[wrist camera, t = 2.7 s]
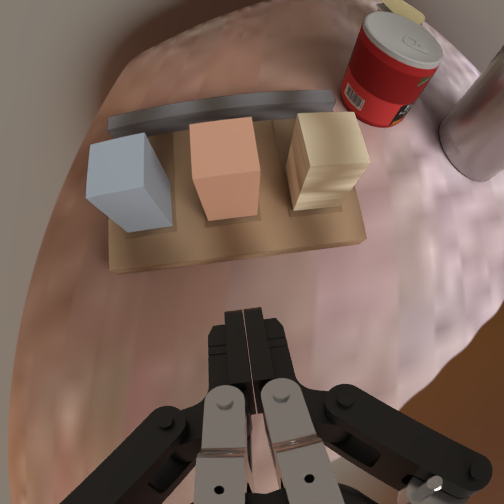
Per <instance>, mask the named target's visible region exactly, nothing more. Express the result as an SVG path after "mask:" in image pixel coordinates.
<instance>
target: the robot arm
mask: <svg viewBox="0 0 504 504" xmlns="http://www.w3.org/2000/svg"><path fill="white" fill-rule="evenodd" d="M439 136H440V141H441V144H442V147H443V149H444V151H445V153H446V155H447V157H448V158H449V160H450V161H451V162H452V164H453V165H454V166H455V167H456V168H457V169H458V170H459V171H460V172H461V173H462V174H464V175H465V176H466V177H468V178H470V179H472V180H475V181H479V182H482V181H487V180H489V179H490V178H492V177H493V176H495V175H496V174H497V173H499V172H500V171H502V170H503V169H504V45H503V46H502V48H501V49H500V51H499V52H498V53H497V55H496V56H495V57H494V59H493V60H492V61H491V62H490V64H489V65H488V66H487V67H486V69H485V70H484V71H483V72H482V74H481V75H480V76H479V77H478V79H477V80H476V81H475V82H474V84H473V85H472V86H471V87H470V88H469V90H468V91H467V92H466V93H465V95H464V96H463V97H462V98H461V99H460V101H459V102H458V103H457V104H456V105H455V107H454V108H453V109H452V110H451V111H450V113H449V114H448V115H447V116H446V117H445V119H444V120H443V121H442V122H441V125H440V128H439ZM224 314H225V325H217V326H213V327H212V329H211V331H210V333H209V335H208V347H209V348H208V355H209V357H208V361H209V390H208V393H207V395H206V397H205V398H204V399H203V400H202V401H201V402H200V403H198V404H197V405H194V406H192V407H189V408H187V409H184V410H181V411H180V410H179V409H178V408H176V407H173V406H163V407H159V408H157V409H156V410H154V411H153V412H152V413H151V414H150V415H149V416H148V417H147V418H146V419H145V420H144V421H143V422H142V423H141V424H140V425H139V426H138V427H137V428H136V429H135V430H134V431H133V432H132V433H131V434H130V435H129V436H128V437H127V438H126V439H125V440H124V441H123V442H122V443H121V444H120V445H119V446H118V447H117V448H116V449H115V450H114V451H113V452H112V453H111V454H110V455H109V456H108V457H107V458H106V459H105V460H104V461H103V462H102V463H101V464H100V465H99V466H98V467H97V468H96V469H95V470H94V471H93V472H92V473H91V474H90V475H89V476H88V477H87V478H86V479H85V480H84V481H83V482H82V483H81V484H80V485H79V486H78V487H77V488H76V489H75V490H74V491H72V492H71V493H70V494H69V495H68V496H67V497H66V498H65V499H64V500H63V501H62V502H61V503H60V504H162V503H163V502H164V500H165V499H166V498H167V497H168V496H169V495H170V494H171V493H172V492H173V490H174V489H175V488H176V487H177V486H178V485H179V484H180V483H181V481H182V480H183V479H184V478H185V477H186V476H187V475H188V473H189V472H190V471H191V470H192V469H193V468H194V466H195V465H196V470H195V487H194V502H193V503H191V504H378V503H376V502H375V501H373V500H372V499H370V498H369V497H367V496H366V495H364V494H363V493H361V492H360V491H358V490H356V489H354V488H352V487H350V486H347V485H344V484H339V483H337V480H336V477H335V475H334V472H333V469H332V466H331V463H330V460H329V457H328V454H327V452H326V449H325V446H327V447H328V448H330V449H331V450H333V451H334V452H336V453H337V454H339V455H340V456H342V457H344V458H345V459H346V460H348V461H350V462H351V463H353V464H354V465H356V466H358V467H359V468H361V469H362V470H364V471H366V472H367V473H369V474H371V475H372V476H374V477H376V478H377V479H379V480H381V481H382V482H384V483H386V484H387V485H389V486H391V487H393V488H394V489H396V490H398V491H399V493H398V497H397V501H398V504H465V503H466V501H467V500H468V498H469V497H470V496H471V495H473V494H474V493H476V492H478V491H479V490H481V489H482V488H484V487H485V486H486V485H487V484H488V483H489V481H490V479H491V477H492V465H491V463H490V461H489V460H488V459H487V458H486V457H485V456H483V455H481V454H479V453H477V452H475V451H473V450H471V449H469V448H467V447H465V446H463V445H461V444H459V443H457V442H455V441H453V440H451V439H449V438H447V437H445V436H444V435H442V434H440V433H438V432H436V431H434V430H432V429H430V428H428V427H427V426H425V425H423V424H421V423H419V422H417V421H415V420H413V419H412V418H410V417H408V416H406V415H404V414H403V413H401V412H399V411H397V410H396V409H394V408H392V407H390V406H389V405H387V404H385V403H383V402H382V401H380V400H378V399H376V398H375V397H373V396H371V395H369V394H368V393H366V392H364V391H363V390H361V389H359V388H357V387H356V386H353V385H350V384H340V385H337V386H335V387H333V388H331V389H330V390H329V391H318V390H311V389H308V388H306V387H304V386H303V385H301V384H300V383H299V382H298V381H297V379H296V377H295V373H294V369H293V365H292V361H291V357H290V353H289V349H288V345H287V340H286V337H285V332H284V328H283V326H282V324H281V323H280V322H279V321H278V320H277V319H276V318H271V319H263V314H262V309H261V307H258V308H250V309H244V317H245V325H246V333H247V340H246V333H245V326H244V320H243V313H242V310H235V311H227V312H225V313H224ZM247 341H248V348H249V356H250V363H249V356H248V348H247ZM250 364H251V371H250ZM251 372H252V379H253V386H254V392H255V399H256V405H257V411H258V414H260V413H263V417H264V424H265V431H266V435H267V439H268V443H269V447H270V451H271V455H272V459H273V463H274V467H275V471H276V476H277V481H278V485H279V490H276V491H274V492H271V493H268V494H259V493H255V485H254V477H253V454H252V420H251V415H253V414H256V409H255V402H254V394H253V387H252V379H251ZM324 445H325V446H324Z"/></svg>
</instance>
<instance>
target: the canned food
mask: <svg viewBox="0 0 504 504" xmlns="http://www.w3.org/2000/svg"><path fill="white" fill-rule="evenodd" d="M442 58H443V52H442V49H441V47H440V45H439V43H438V42H437V41H436V39H435V38H434V37H433V36H432V35H431V34H430V33H429V32H428V31H427V30H425V29H424V28H423V27H422V26H420V25H418V24H417V23H415V22H414V21H412V20H410V19H408V18H406V17H403V16H401V15H398V14H395V13H390V12H384V11H376V12H372V13H370V14H368V15H367V16H366V18H365V20H364V21H363V24H362V27H361V29H360V32H359V35H358V38H357V41H356V44H355V47H354V50H353V53H352V55H351V58H350V61H349V64H348V67H347V70H346V73H345V76H344V79H343V81H342V85H341V96H342V100H343V103H344V104H345V106H346V108H347V109H348V110H349V111H350V112H354V113H355V116H356V118H358V119H359V120H361V121H363V122H364V123H366V124H369V125H371V126H375V127H382V128H386V127H391V126H394V125H396V124H398V123H399V122H401V121H402V120H403V118H404V117H405V116H406V114H407V113H408V111H409V110H410V108H411V107H412V106H413V104H414V103H415V101H416V100H417V98H418V97H419V95H420V94H421V92H422V91H423V89H424V88H425V87H426V85H427V84H428V82H429V81H430V79H431V78H432V76H433V75H434V73H435V72H436V70H437V68H438V67H439V65H440V63H441V61H442Z"/></svg>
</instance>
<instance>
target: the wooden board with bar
mask: <svg viewBox="0 0 504 504" xmlns="http://www.w3.org/2000/svg"><path fill="white" fill-rule="evenodd" d="M335 102H336V101H335V98H334V95H333V92H332V90H296V91H276V92H262V93H250V94H239V95H230V96H221V97H213V98H206V99H199V100H192V101H186V102H180V103H174V104H168V105H163V106H158V107H152V108H148V109H143V110H138V111H133V112H129V113H125V114H120V115H116V116H112V117H109V119H108V128H107V130H108V132H109V133H110V135H111V136H112V139H116V138H121V137H125V136H130V135H135V134H140V133H145V134H146V136H147V138H148V140H149V142H150V144H151V146H152V148H153V150H154V152H155V154H156V156H157V158H158V160H159V162H160V164H161V165H162V167H163V169H164V171H165V173H166V175H167V177H168V179H169V181H170V184H171V206H172V224H173V226H170V227H163V228H156V229H149V230H142V231H135V232H129V233H128V232H126V231H125V230H124V229H123V228H121V227H120V226H119V225H118V224H116V223H115V222H114V221H113V220H111V219H110V218H109V217H108V246H109V271H111V272H113V273H116V274H126V273H134V272H142V271H150V270H159V269H167V268H175V267H183V266H191V265H199V264H207V263H215V262H223V261H231V260H239V259H247V258H255V257H263V256H271V255H279V254H287V253H294V252H302V251H310V250H318V249H326V248H333V247H341V246H349V245H356V244H360V243H361V242H363V241H364V240H365V239H367V237H366V232H365V228H364V223H363V219H362V214H361V210H360V206H359V202H358V197H357V193H356V189H355V185H354V186H353V188H352V189H351V191H350V192H349V193H348V195H347V196H346V197H345V199H344V200H343V202H342V203H341V204H340V206H336V207H326V208H316V209H307V210H297V211H293V206H292V201H291V195H290V190H289V184H288V179H287V174H286V169H285V168H286V163H287V159H288V154H289V150H290V145H291V141H292V136H293V132H294V127H295V122H296V118H297V113H317V112H333V108H334V105H335ZM244 117H252V122H253V128H254V134H255V140H256V146H257V152H258V159H259V165H260V184H259V198H258V211H257V215H254V216H245V217H237V218H229V219H221V220H214V221H208V219H207V216H206V214H205V211H204V208H203V206H202V203H201V201H200V198H199V195H198V193H197V190H196V187H195V185H194V182H193V179H192V165H191V148H190V128H189V125H190V124H196V123H203V122H211V121H218V120H226V119H235V118H244Z"/></svg>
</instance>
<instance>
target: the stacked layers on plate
mask: <svg viewBox="0 0 504 504" xmlns="http://www.w3.org/2000/svg"><path fill="white" fill-rule="evenodd" d="M381 1H382V2H383V3H381V4H377V5H376V6H377V7H378V11H384V12H390V13H395V14H398V15H401V16H403V17H406V18H408V19H410V20H412V21H414V22H415V23H417V24H418V25H420V26H422V22H423V21H424V20H425V17H424V15H423V14H422V13H421V12H419V11H418V10H416V9H415V8H413V7H412V6H410V5H409V4H407V3H405V2H404V1H402V0H381Z"/></svg>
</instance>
